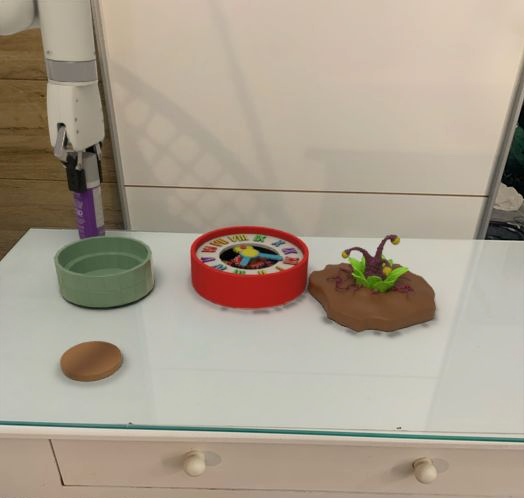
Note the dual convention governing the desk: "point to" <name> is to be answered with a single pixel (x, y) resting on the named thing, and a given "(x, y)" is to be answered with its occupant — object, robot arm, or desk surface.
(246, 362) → the desk surface
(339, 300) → the plant
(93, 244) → the bowl
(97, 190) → the container
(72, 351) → the coaster
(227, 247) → the toy clock
